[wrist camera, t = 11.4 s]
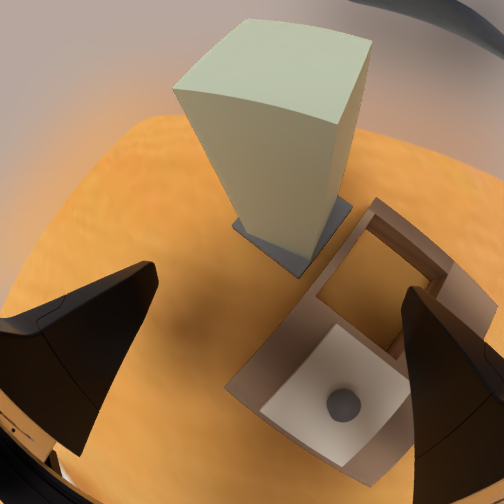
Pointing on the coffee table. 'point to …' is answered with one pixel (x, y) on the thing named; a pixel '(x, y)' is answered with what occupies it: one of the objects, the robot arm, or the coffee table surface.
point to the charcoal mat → (289, 259)
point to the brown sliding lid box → (352, 362)
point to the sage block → (278, 123)
